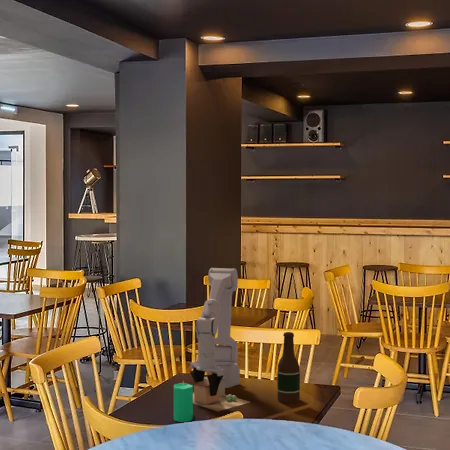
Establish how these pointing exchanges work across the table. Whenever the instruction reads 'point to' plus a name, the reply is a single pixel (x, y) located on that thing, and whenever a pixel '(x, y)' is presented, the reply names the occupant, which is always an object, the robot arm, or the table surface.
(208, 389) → the small tan cube
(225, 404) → the board
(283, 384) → the beer bottle
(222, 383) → the grey square box
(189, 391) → the candle
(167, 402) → the table surface
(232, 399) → the three marbles
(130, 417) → the table surface
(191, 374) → the robot arm
